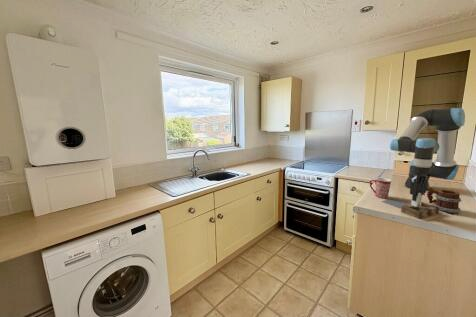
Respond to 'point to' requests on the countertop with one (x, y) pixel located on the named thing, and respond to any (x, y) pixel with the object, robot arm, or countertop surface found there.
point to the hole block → (420, 210)
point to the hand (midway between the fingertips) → (415, 205)
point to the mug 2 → (445, 200)
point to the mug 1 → (381, 187)
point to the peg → (418, 202)
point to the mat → (396, 202)
